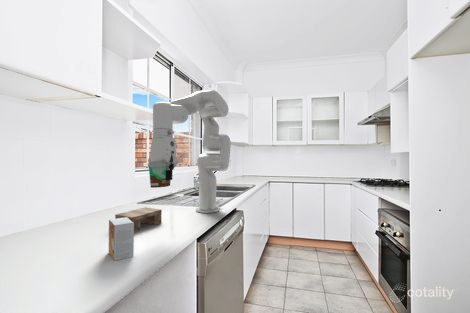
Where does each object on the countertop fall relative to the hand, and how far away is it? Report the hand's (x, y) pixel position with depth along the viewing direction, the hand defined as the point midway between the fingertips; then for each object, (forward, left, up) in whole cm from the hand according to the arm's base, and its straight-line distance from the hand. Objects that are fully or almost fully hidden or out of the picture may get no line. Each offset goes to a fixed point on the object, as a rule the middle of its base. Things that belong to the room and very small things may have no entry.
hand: (162, 179), depth 97 cm
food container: (0, +1, -3) cm, 3 cm away
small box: (+22, +4, -21) cm, 31 cm away
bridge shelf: (-2, -15, -21) cm, 26 cm away
